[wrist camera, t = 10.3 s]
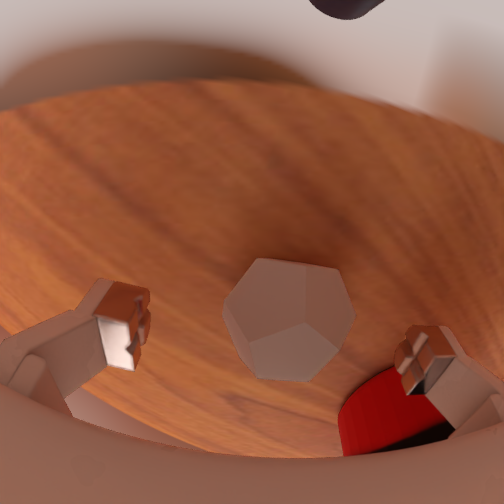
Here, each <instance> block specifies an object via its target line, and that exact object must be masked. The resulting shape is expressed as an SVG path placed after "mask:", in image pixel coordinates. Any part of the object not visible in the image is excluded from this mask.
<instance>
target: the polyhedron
mask: <svg viewBox="0 0 504 504" xmlns="http://www.w3.org/2000/svg"><path fill="white" fill-rule="evenodd" d="M222 317H223V320H224V322H225V325H226V327H227V329H228V332H229V334H230V336H231V339H232V341H233V343H234V346H235V348H236V350H237V353H238V355H239V357H240V359H241V360H242V361H243V362H244V364H245V365H246V366H247V367H248V368H249V369H250V371H251V372H252V373H253V374H254V375H255V376H256V377H257V379H268V380H281V381H296V382H309V381H310V380H311V379H312V378H313V377H314V376H315V375H316V374H317V373H318V372H319V371H320V370H321V369H322V368H323V367H324V366H325V365H326V364H327V363H328V362H329V361H330V360H331V359H332V358H333V357H334V356H335V355H336V354H337V353H338V352H339V351H340V349H341V347H342V345H343V343H344V341H345V339H346V337H347V335H348V333H349V330H350V328H351V326H352V324H353V322H354V320H355V317H356V313H355V310H354V308H353V305H352V303H351V300H350V297H349V295H348V292H347V290H346V287H345V285H344V282H343V280H342V277H341V275H340V273H339V270H338V269H334V268H329V267H324V266H319V265H314V264H307V263H300V262H293V261H286V260H279V259H272V258H257V259H256V260H255V261H254V262H253V264H252V265H251V266H250V268H249V269H248V270H247V271H246V273H245V274H244V275H243V277H242V278H241V279H240V280H239V282H238V283H237V284H236V286H235V287H234V288H233V289H232V291H231V292H230V293H229V295H228V296H227V297H226V298H225V300H224V305H223V314H222Z"/></svg>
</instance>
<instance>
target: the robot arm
mask: <svg viewBox="0 0 504 504" xmlns="http://www.w3.org/2000/svg"><path fill="white" fill-rule="evenodd" d="M149 302H150V291H149V289H148V288H143V287H139V286H134V285H130V284H126V283H122V282H117V281H112V280H108V279H104V278H100V279H98V280H97V281H96V282H95V283H94V285H93V286H92V287H91V289H90V290H89V291H88V293H87V294H86V296H85V297H84V298H83V300H82V301H81V302H80V304H79V305H78V307H77V308H76V309H75V311H73V310H68V311H66V312H64V313H62V314H59V315H57V316H55V317H53V318H50V319H48V320H46V321H44V322H41V323H39V324H37V325H35V326H33V327H30V328H28V329H26V330H24V331H22V332H19V333H17V334H15V335H13V336H11V337H8V338H6V339H4V340H3V341H2V343H1V344H0V504H504V382H503V381H502V380H500V379H499V378H498V377H496V376H495V375H494V374H493V373H491V372H490V371H489V370H487V369H486V368H485V367H483V366H482V365H481V364H479V363H478V362H477V361H475V360H474V359H473V358H472V357H468V356H467V355H466V353H465V352H464V350H463V348H462V347H461V345H460V344H459V342H458V341H457V339H456V338H455V336H454V334H453V333H452V331H451V330H450V328H448V327H447V326H424V325H412V326H411V327H410V328H409V329H408V330H407V332H406V334H405V336H406V339H405V340H404V341H403V342H401V343H400V344H399V345H398V347H397V349H396V351H395V355H394V365H395V368H396V370H397V371H398V372H399V373H400V374H401V375H402V378H401V383H402V385H403V388H404V390H405V393H406V395H425V394H426V395H425V396H426V397H427V398H428V399H429V400H430V401H431V403H432V404H433V405H434V406H435V407H436V408H437V409H438V410H439V411H440V413H441V414H442V415H443V416H444V417H445V418H446V419H447V420H448V422H449V423H450V424H451V425H452V426H453V427H454V428H455V429H456V430H455V431H454V432H453V433H452V434H451V435H450V436H449V437H448V439H447V440H443V441H439V442H435V443H430V444H426V445H421V446H416V447H411V448H406V449H400V450H394V451H388V452H381V453H373V454H364V455H354V456H342V457H325V458H269V457H252V456H240V455H230V454H221V453H213V452H206V451H199V450H193V449H187V448H182V447H176V446H171V445H166V444H162V443H157V442H153V441H149V440H144V439H140V438H137V437H133V436H129V435H126V434H122V433H118V432H115V431H112V430H109V429H105V428H102V427H99V426H96V425H94V424H90V423H87V422H85V421H82V420H79V419H77V418H74V417H73V416H72V413H71V411H70V410H69V408H68V406H67V404H66V402H65V401H64V398H66V397H67V396H68V395H70V394H71V393H72V392H74V391H75V390H76V389H78V388H79V387H80V386H82V385H83V384H84V383H86V382H87V381H88V380H90V379H91V378H92V377H94V376H95V375H96V374H98V373H99V372H100V371H102V370H103V369H104V368H106V367H107V365H108V366H112V367H116V368H121V369H125V370H129V371H134V372H135V369H136V367H137V364H138V361H139V359H140V356H141V348H140V346H142V345H144V344H145V343H146V341H147V338H148V334H149V330H150V322H151V313H150V312H149V310H148V309H147V307H148V304H149Z"/></svg>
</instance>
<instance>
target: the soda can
mask: <svg viewBox="0 0 504 504" xmlns="http://www.w3.org/2000/svg"><path fill="white" fill-rule="evenodd" d="M401 378H402V375H401V374H400V373H399V372H398V371H397V370H396V368H395V366H394V367H392V368H390V369H387V370H385V371H383V372H381V373H380V374H378V375H376V376H375V377H373V378H371V379H370V380H368V381H367V382H366V383H364V384H363V385H362V386H360V387H359V388H358V389H357V390H356V391H355V392H354V393H353V394H352V395H351V396H350V397H349V399H348V400H347V401H346V402H345V404H344V406H343V407H342V409H341V411H340V413H339V415H338V426H339V432H340V437H341V443H342V449H343V455H344V456H354V455H364V454H373V453H381V452H388V451H394V450H400V449H406V448H411V447H416V446H421V445H426V444H430V443H435V442H439V441H443V440H447V439H448V437H449V436H450V435H451V434H452V433H453V432H454V431H455V430H456V429H455V428H454V427H453V426H452V425H451V424H450V423H449V422H448V420H447V419H446V418H445V417H444V416H443V415H442V414H441V413H440V411H439V410H438V409H437V408H436V407H435V406H434V405H433V404H432V403H431V401H430V400H429V399H428V398H427V397H426V396H425V395H426V394H425V395H406V393H405V390H404V388H403V385H402V383H401Z"/></svg>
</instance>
